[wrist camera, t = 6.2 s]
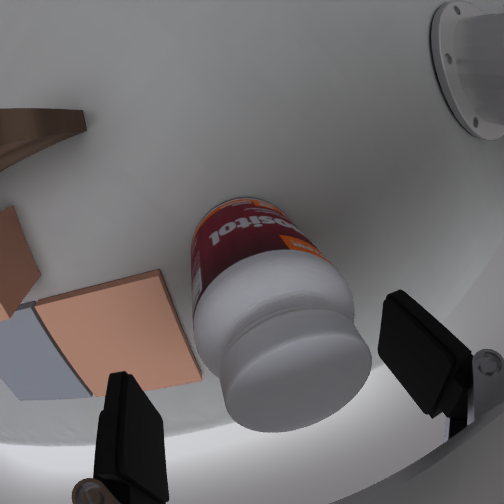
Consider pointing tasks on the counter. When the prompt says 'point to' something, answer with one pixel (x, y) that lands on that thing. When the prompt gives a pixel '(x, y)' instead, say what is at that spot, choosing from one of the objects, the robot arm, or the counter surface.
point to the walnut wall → (35, 131)
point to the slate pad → (36, 360)
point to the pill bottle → (273, 319)
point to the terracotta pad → (121, 333)
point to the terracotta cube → (14, 264)
